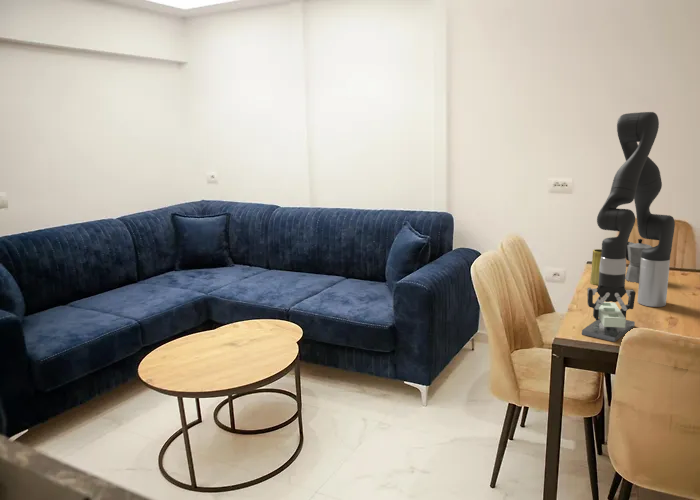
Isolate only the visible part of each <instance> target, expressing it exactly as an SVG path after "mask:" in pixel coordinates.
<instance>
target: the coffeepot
mask: <svg viewBox="0 0 700 500" xmlns="http://www.w3.org/2000/svg"><path fill="white" fill-rule="evenodd" d="M637 241H638V242H637V243H635V242H631V241H628V243H627V249H626V261H628V262H629V265H627V268H626V275H625V281H627V282H629V281H630V283H634V282H636V284H639V276H640V263H641V252H642V250H643V249H646V248H651V247H653V246H651V245H650V244H646V243H643V238H639V239H637Z"/></svg>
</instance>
